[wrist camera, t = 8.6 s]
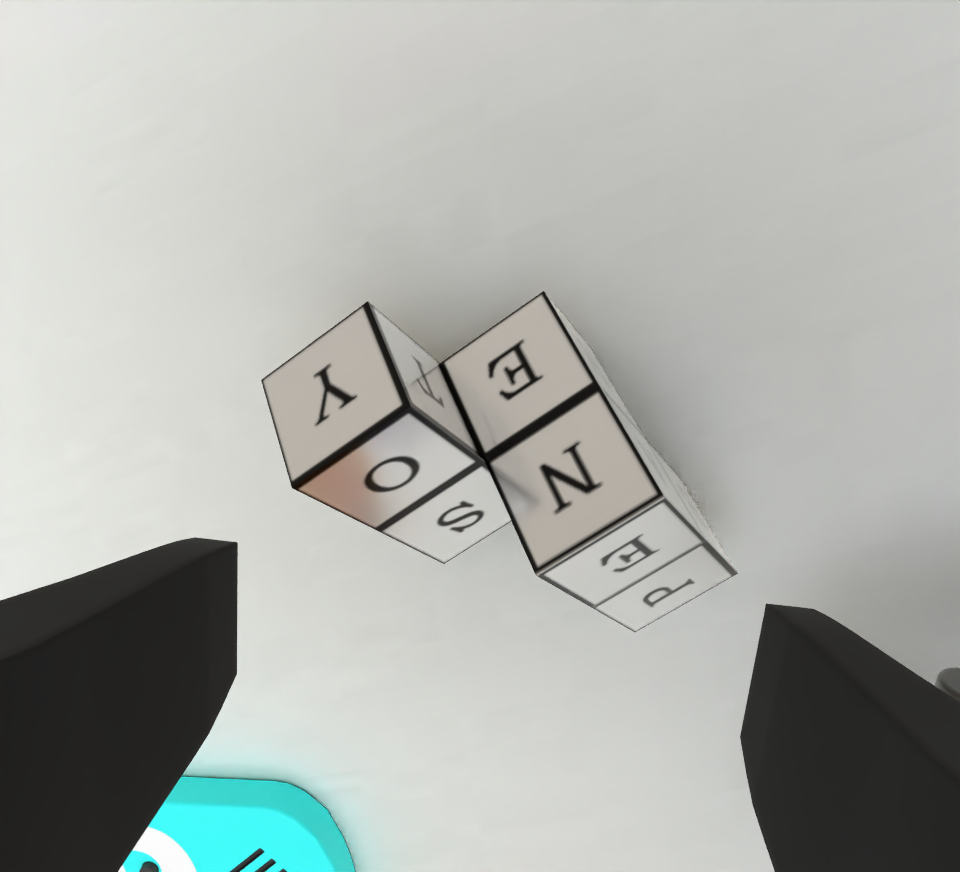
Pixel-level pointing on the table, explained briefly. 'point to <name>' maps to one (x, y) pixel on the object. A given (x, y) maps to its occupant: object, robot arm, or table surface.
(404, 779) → the table surface
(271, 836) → the handheld game console
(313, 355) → the building blocks
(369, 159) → the table surface
